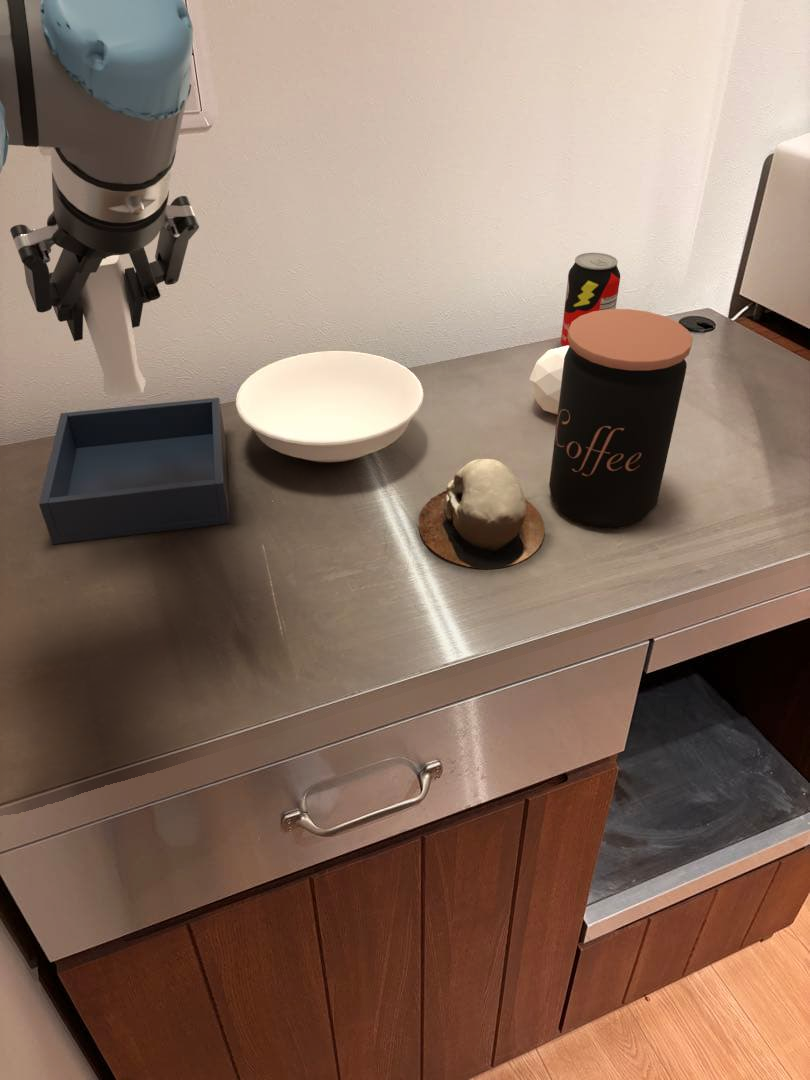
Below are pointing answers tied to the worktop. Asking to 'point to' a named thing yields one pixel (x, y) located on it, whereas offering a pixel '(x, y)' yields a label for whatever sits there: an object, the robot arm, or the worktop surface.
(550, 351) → the geometric ball
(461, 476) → the skull
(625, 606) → the worktop surface
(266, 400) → the bowl
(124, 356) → the perfume bottle
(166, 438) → the bin
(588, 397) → the coffee jar
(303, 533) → the worktop surface
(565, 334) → the beverage can
